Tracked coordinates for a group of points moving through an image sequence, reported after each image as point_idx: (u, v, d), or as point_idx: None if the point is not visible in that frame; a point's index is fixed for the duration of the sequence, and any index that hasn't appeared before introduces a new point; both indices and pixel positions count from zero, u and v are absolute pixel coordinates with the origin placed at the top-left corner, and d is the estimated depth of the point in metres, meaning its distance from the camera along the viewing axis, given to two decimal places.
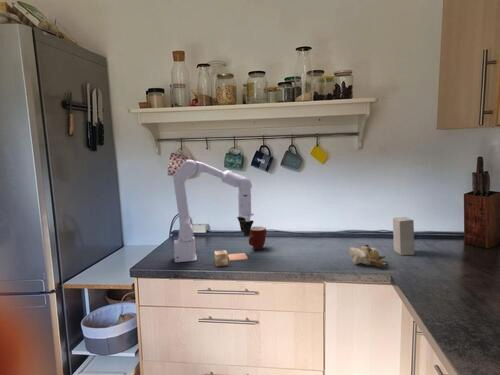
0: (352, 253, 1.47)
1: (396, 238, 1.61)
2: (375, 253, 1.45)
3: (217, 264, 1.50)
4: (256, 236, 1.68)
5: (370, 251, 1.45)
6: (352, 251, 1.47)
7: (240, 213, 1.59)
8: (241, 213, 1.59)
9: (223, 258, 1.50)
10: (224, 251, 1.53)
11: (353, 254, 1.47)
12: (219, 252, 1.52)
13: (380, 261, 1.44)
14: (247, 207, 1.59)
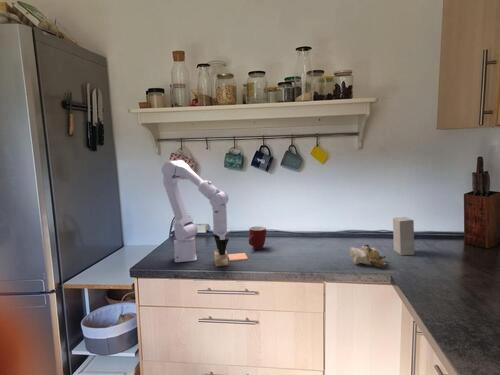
0: (352, 253, 1.47)
1: (396, 238, 1.61)
2: (375, 253, 1.45)
3: (217, 264, 1.50)
4: (256, 236, 1.68)
5: (370, 251, 1.45)
6: (352, 251, 1.47)
7: (215, 230, 1.49)
8: (216, 230, 1.49)
9: (223, 258, 1.50)
10: None
11: (353, 254, 1.47)
12: None
13: (380, 261, 1.44)
14: (222, 224, 1.48)
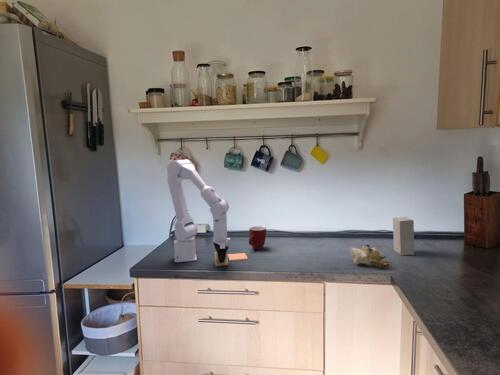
0: (353, 253, 1.47)
1: (396, 238, 1.61)
2: (376, 253, 1.44)
3: (217, 264, 1.50)
4: (256, 236, 1.68)
5: (371, 252, 1.45)
6: (353, 251, 1.47)
7: (215, 239, 1.49)
8: (216, 239, 1.49)
9: None
10: None
11: (354, 254, 1.47)
12: None
13: (381, 261, 1.44)
14: (222, 232, 1.49)
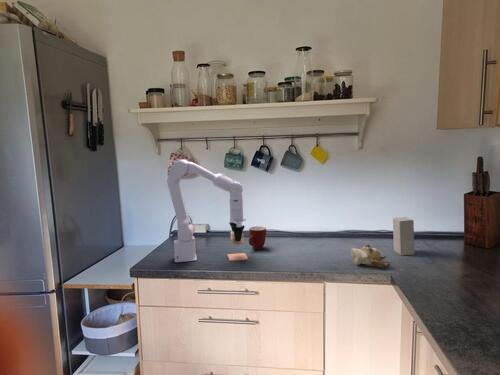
0: (354, 253, 1.46)
1: (396, 238, 1.61)
2: (377, 253, 1.44)
3: (234, 243, 1.56)
4: (256, 236, 1.68)
5: (371, 252, 1.44)
6: (354, 252, 1.47)
7: (231, 218, 1.56)
8: (232, 218, 1.55)
9: None
10: None
11: (355, 255, 1.46)
12: None
13: (382, 261, 1.44)
14: (238, 212, 1.55)
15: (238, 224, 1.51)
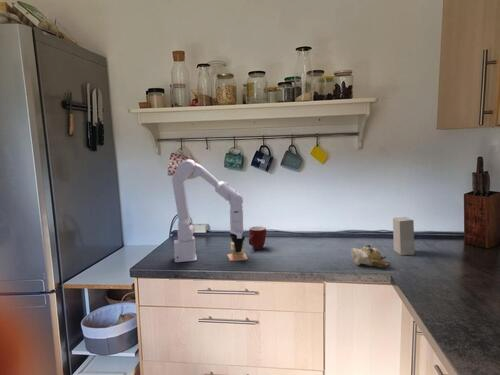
0: (354, 253, 1.46)
1: (396, 238, 1.61)
2: (377, 254, 1.44)
3: (234, 254, 1.57)
4: (256, 236, 1.68)
5: (372, 252, 1.44)
6: (354, 252, 1.46)
7: (232, 229, 1.56)
8: (233, 229, 1.56)
9: None
10: None
11: (355, 255, 1.46)
12: None
13: (382, 261, 1.44)
14: (238, 223, 1.56)
15: (238, 235, 1.52)
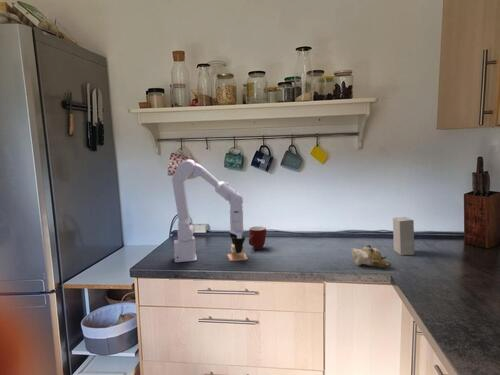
0: (354, 254, 1.46)
1: (396, 238, 1.61)
2: (378, 254, 1.44)
3: (234, 256, 1.57)
4: (256, 236, 1.68)
5: (372, 252, 1.44)
6: (354, 252, 1.46)
7: (232, 229, 1.56)
8: (233, 229, 1.56)
9: None
10: None
11: (356, 255, 1.45)
12: None
13: (383, 262, 1.43)
14: (238, 223, 1.56)
15: (238, 235, 1.52)
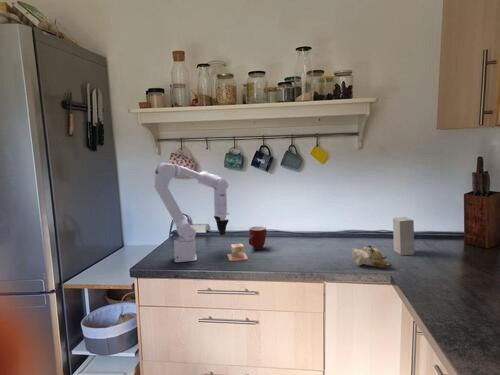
0: (355, 254, 1.46)
1: (396, 238, 1.61)
2: (378, 254, 1.44)
3: (234, 256, 1.57)
4: (256, 236, 1.68)
5: (373, 252, 1.44)
6: (355, 252, 1.46)
7: (216, 212, 1.62)
8: (217, 212, 1.62)
9: (239, 251, 1.57)
10: (240, 244, 1.61)
11: (356, 255, 1.45)
12: (235, 245, 1.59)
13: (383, 262, 1.43)
14: (222, 206, 1.62)
15: (221, 217, 1.57)
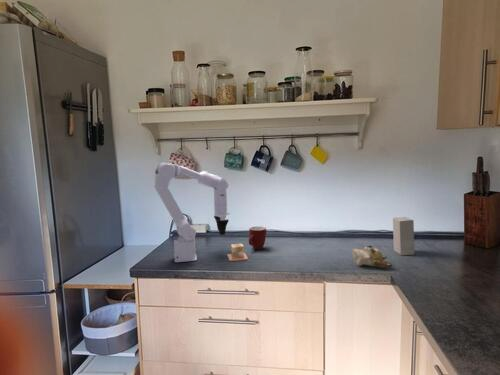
0: (356, 254, 1.45)
1: (396, 238, 1.61)
2: (379, 254, 1.43)
3: (234, 256, 1.57)
4: (256, 236, 1.68)
5: (373, 253, 1.44)
6: (356, 253, 1.45)
7: (216, 212, 1.62)
8: (217, 212, 1.62)
9: (239, 251, 1.57)
10: (240, 244, 1.61)
11: (357, 256, 1.45)
12: (235, 245, 1.59)
13: (384, 262, 1.43)
14: (222, 206, 1.62)
15: (221, 217, 1.57)
